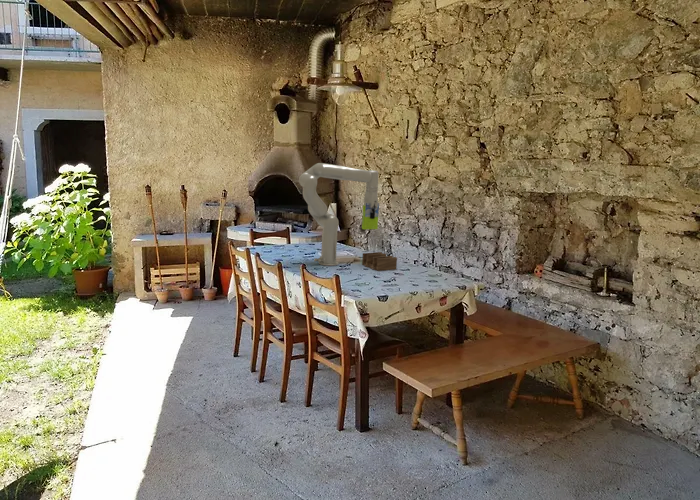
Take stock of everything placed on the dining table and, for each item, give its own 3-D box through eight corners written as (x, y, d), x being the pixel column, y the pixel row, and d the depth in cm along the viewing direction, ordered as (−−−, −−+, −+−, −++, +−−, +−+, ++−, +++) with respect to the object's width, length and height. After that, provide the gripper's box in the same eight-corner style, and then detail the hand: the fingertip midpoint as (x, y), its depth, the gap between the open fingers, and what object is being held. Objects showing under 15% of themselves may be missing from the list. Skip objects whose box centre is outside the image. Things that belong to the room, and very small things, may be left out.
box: (374, 228, 368) (376, 202, 364) (378, 229, 364) (379, 202, 361) (361, 228, 362) (362, 202, 359) (364, 229, 359) (365, 203, 356)
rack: (396, 269, 349) (397, 257, 348) (377, 271, 342) (378, 259, 341) (380, 263, 364) (381, 252, 363) (362, 264, 357) (362, 253, 356)
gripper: (359, 188, 364) (358, 216, 367) (374, 191, 349) (372, 220, 353) (369, 188, 367) (368, 216, 371) (384, 191, 353) (382, 219, 357)
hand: (370, 217), depth 362 cm, fingers closed on box, 4 cm apart
